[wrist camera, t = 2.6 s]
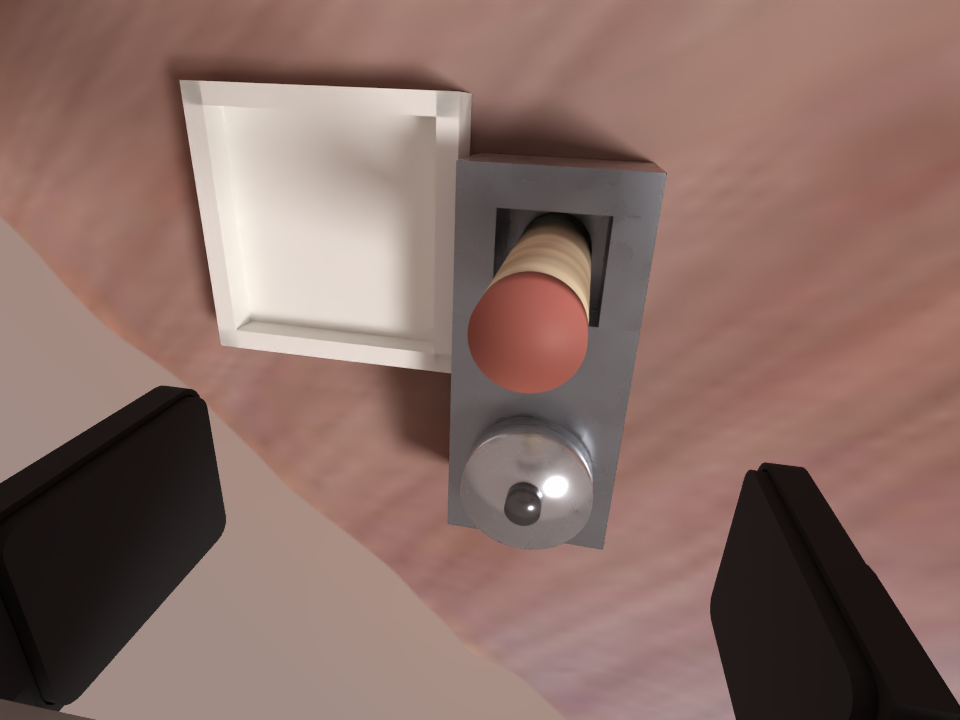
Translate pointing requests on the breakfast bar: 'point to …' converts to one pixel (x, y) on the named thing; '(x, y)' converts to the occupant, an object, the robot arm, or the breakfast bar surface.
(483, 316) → the lock pin
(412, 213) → the tray
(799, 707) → the robot arm
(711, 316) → the breakfast bar surface
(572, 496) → the block
